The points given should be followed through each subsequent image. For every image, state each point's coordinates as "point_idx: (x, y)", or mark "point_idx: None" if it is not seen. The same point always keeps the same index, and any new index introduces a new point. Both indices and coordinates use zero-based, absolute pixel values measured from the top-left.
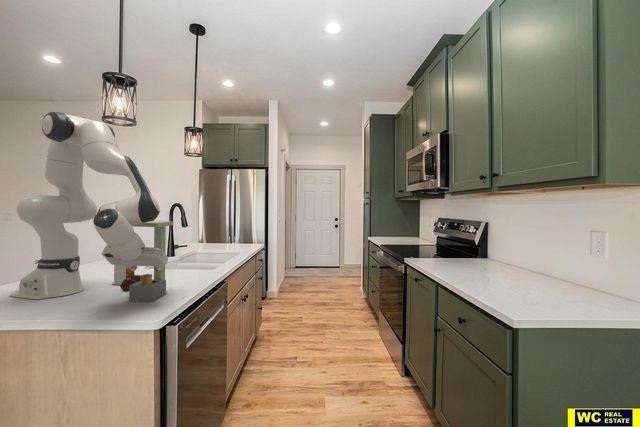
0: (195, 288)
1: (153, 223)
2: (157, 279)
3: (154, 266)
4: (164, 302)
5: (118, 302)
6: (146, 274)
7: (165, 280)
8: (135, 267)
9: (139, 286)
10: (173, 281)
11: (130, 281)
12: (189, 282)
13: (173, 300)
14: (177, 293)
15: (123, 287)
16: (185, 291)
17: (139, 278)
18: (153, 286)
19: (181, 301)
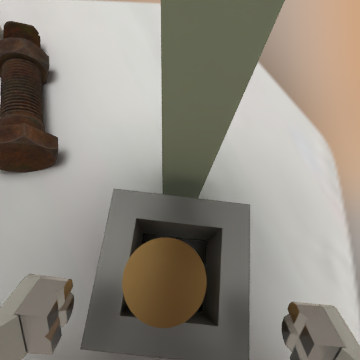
0: (305, 137)
1: None
2: (183, 176)
3: (166, 136)
4: (282, 347)
5: (60, 348)
6: (155, 254)
7: (249, 212)
8: (60, 306)
9: (154, 354)
10: None
11: (23, 146)
12: None
13: None
14: (268, 205)
15: (6, 165)
16: (286, 177)
17: (36, 61)
18: (247, 355)
19: (351, 329)
